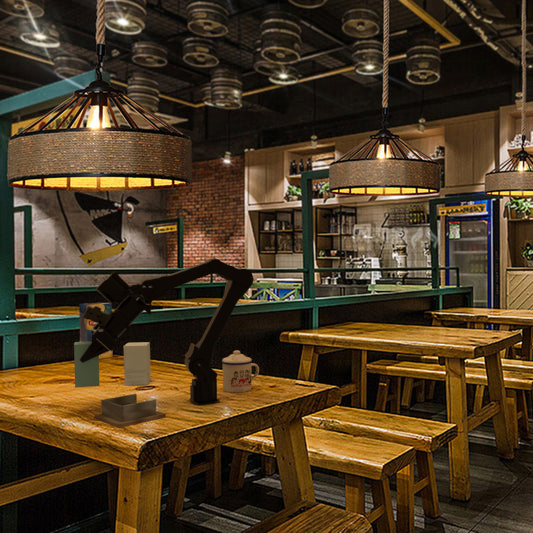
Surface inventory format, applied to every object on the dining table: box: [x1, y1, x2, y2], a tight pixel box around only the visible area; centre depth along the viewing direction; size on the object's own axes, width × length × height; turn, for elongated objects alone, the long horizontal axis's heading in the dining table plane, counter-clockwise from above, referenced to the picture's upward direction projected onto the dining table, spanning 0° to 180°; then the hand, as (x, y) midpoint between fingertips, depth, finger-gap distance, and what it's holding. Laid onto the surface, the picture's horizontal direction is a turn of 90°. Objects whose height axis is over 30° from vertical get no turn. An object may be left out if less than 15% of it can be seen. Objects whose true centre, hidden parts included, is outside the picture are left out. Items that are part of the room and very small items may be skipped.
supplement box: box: [123, 341, 152, 386], centre depth 189 cm, size 7×7×13 cm
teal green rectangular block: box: [73, 341, 100, 388], centre depth 154 cm, size 6×5×11 cm
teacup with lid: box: [221, 350, 260, 393], centre depth 178 cm, size 12×9×12 cm
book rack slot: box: [93, 393, 166, 429], centre depth 147 cm, size 13×12×4 cm
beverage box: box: [78, 302, 114, 360], centre depth 241 cm, size 7×11×22 cm, turn 133°
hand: (81, 359), depth 154 cm, fingers closed on teal green rectangular block, 5 cm apart
